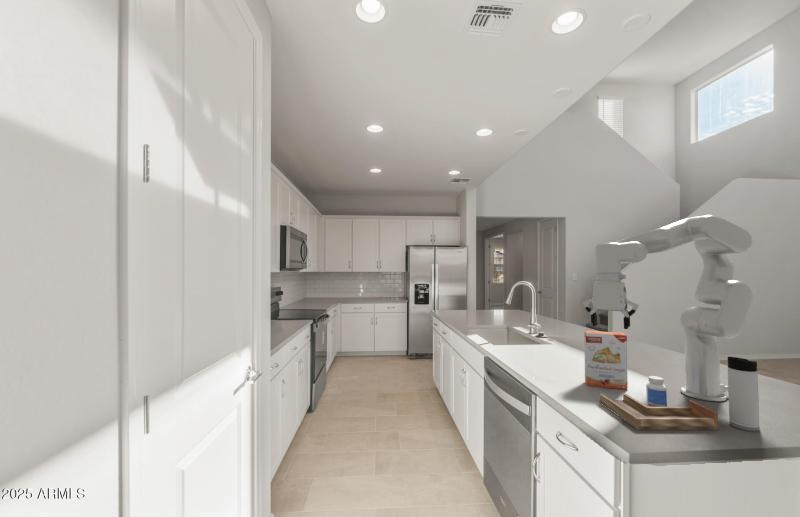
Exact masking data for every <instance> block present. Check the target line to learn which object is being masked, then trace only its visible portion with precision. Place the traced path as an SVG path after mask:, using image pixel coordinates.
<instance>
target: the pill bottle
mask: <svg viewBox="0 0 800 517" xmlns="http://www.w3.org/2000/svg"><path fill="white" fill-rule="evenodd" d="M645 386H646V387H645V388H646V406H647V405H648V406H649V407H668V400H667V399H668V398H667V397H668V396H667V393H668V392H667V387H666V385H665V384H664V378H663V377H660V376H656V375H649V376H648V383H646V385H645Z"/></svg>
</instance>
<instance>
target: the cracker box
mask: <svg viewBox="0 0 800 517" xmlns="http://www.w3.org/2000/svg"><path fill="white" fill-rule="evenodd" d="M583 335H584V382H585V384H586V386H588V387H597V388H604V389H613V388H615V390H622V389H628V387H629V386H628V385H629V384H628V335H626V334H625V333H624V332H617V331H616V332H615V331H613V332H612V331H600V330H599V331H597V330H584V333H583Z"/></svg>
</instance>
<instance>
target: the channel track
mask: <svg viewBox="0 0 800 517" xmlns="http://www.w3.org/2000/svg"><path fill="white" fill-rule="evenodd" d="M622 398H623V399H611V398H609V397H608V396H606V395H605V394H604V393H599V404H600V405H602V404H603V405H604V406H603V405H602V406H603V407H605V406H606V407H607V408H606V407H605V408H606V409H608V408H609V409H610V410H609V409H608V410H609V411H611V410H612V411H613V412H615V413H616V414H618V415H619V416H620V417H622V418H623V419H625V420H626V421H627V422H629V423H630V424H631V425H630V424H629V423H628V424H629V425H630V426H632V427H633V426H634V427H633V428H635V429H636V430H637V429H638V430H639V431H646V430H647V431H649V430H650V431H651V430H652V431H666V430H667V431H699V430H700V431H718V430H719V421H718V420H719V419H718V411H715V410H713V409H712V408H710V407H708V406H706V405H703V404H701V403H699V402H697V401H694V400H692V399H689V400H688V406H667V407H648V406H647V404H644V403H642V402H640V401H639V400H637V399H635V398H634V397H632V396H630V395H629V394H627V393H623V394H622ZM612 411H611V412H612ZM613 412H612V413H613ZM615 413H614V414H615ZM616 414H615V415H616ZM618 415H617V416H618ZM619 416H618V417H619ZM620 417H619V418H620ZM622 418H621V419H622ZM623 419H622V420H623ZM625 420H624V421H625ZM626 421H625V422H626ZM627 422H626V423H627Z"/></svg>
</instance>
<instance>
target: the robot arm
mask: <svg viewBox="0 0 800 517" xmlns="http://www.w3.org/2000/svg"><path fill="white" fill-rule="evenodd" d="M691 242H694V247H695V249H696V251H697V253H698V254H699V255H700V257H701V260H702V262H703V267H702V272H701V274H700V278H699V280H698V282H697V285H696V288H695V291H694V298H695V300H696V301H697V302H698V303H699V304H702V305H705V306H706V307H705V306H691V307H687V308H686V309H684V310H683V311H682V312H681V314H680V325H681V328H682V329H681V330H682V332H683V340H684V364H685V365H684V369H685V370H684V371H685V386H681V387H680V392H681V393H682V395H685V396H686V397H687V396H688V397H691V398H692V399H693V398H694V399H697V400H701V401H709V402H724V401H727V399H728V396H727V394H725V393H726V392H728V385H725V384H723V383H721V356H720V345H719V343H718V340H717V339H716V338H723V339H734V338H736V337H738V336H739V335H740V334H741V333H742V332H743V329H744V327H745V324H746V321H747V317H748V315H749V312H750V309H751V307H752V304H753V299H754V298H753V297H754V295H753V291H752V288H751V287H750V285H748V284H747V283H745V282H744V281H741V280H735V279H733V278H734V274H735V266H734V263H733V262H732V260H731V259H730V257H729V256H728V255H727V254H741V253H744V252H746V251H748V250H749V249H750V248H751V247H752V246H753V237H752V235H751V233H750V232H749V231H748V230H747V229H745V228H743V227H741V226H739V225H737V224H735V223H733V222H731V221H729V220H727V219H724V218H722V217H720V216H717V215H713V214H707V215H706V214H705V215H700V216H699V215H698V216H692V217H691V216H690V217H686V218H683V219H679V220H677V221H674V222H672V223H669V224H667V225H664V226H661V227H658V228H656V229H651V230H649V231H645V232H643V233H639V234H636V235H633V236H629V237H626V238H623V239H620V240H617V241H615V242H602V243H597V244H596V246H595V249H594V250H595V272H596V273H595V275H596V276H595V278H596V281H595V282H593V283H594V284H593V289H592V297H590V298H588V299H586V300H584V301H582V306H583V307H584V308H585V311H587V312H588V313H589V315H590V322H591V324H592V327H596V326H598V314H597V312H598V311H608V312H621V313H622V314H623V316H624V317H623V329H624V330H628V329H629V328H630V327H631V316H633V315H634V314H635V313H637V310H638V309H639V307H640V304H639V303H637V302H634V301H632V300H630V299H628V296H627V294H628V292H627V288H626V284H625V281H623V280H625V279H627V275H626V274H622V264H637V263H640V262H642V261H644V260H645V259H646V258H647V256H648V255H649V254H657V253H663V252H667V251H670V250H673V249H675V248H678V247H682V246H683V245H686V244H688V243H691ZM590 303H592V307H590V305H589V304H590ZM628 305H629V306H631V307H632V308H631V309H630V310H628V308H629V306H628ZM707 306H712V307H718V308H712V307H707Z"/></svg>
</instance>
